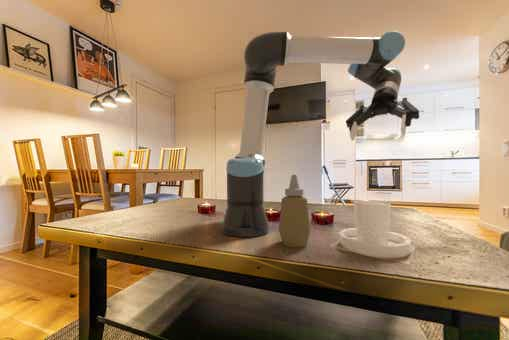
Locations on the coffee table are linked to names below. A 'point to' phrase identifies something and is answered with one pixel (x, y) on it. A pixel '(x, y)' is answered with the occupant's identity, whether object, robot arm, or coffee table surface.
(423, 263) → the coffee table surface
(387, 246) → the dish
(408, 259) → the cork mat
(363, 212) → the white cup
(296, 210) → the squeeze bottle
